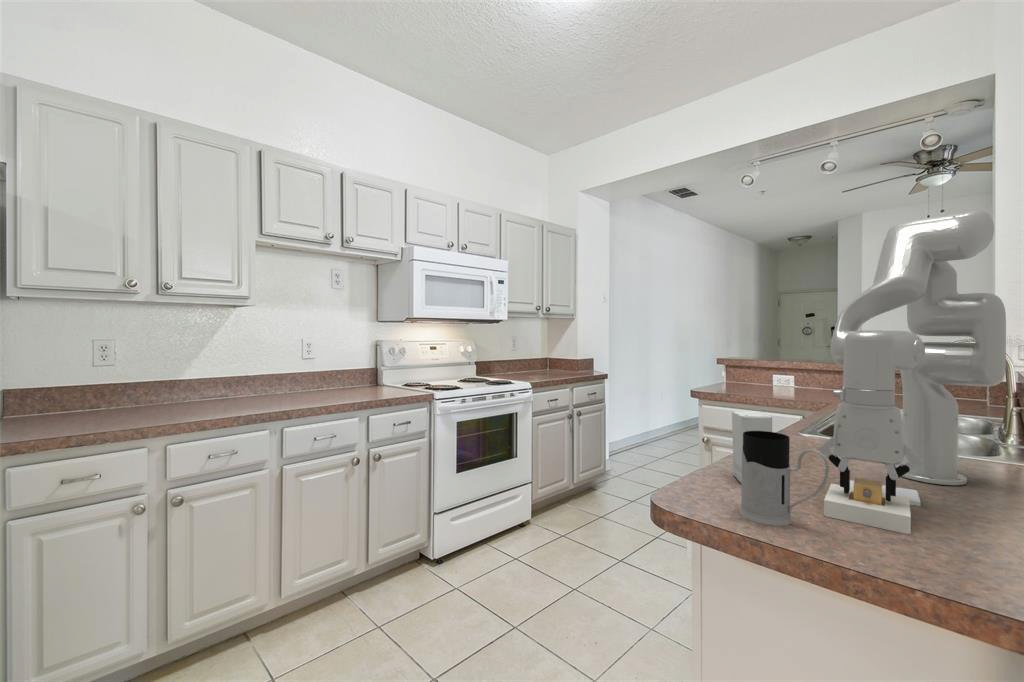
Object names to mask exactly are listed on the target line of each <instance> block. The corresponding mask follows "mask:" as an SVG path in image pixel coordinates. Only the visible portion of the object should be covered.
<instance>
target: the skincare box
mask: <svg viewBox="0 0 1024 682" xmlns="http://www.w3.org/2000/svg"><path fill="white" fill-rule="evenodd" d="M731 422H732V423H731V424H732V425H731V426H732V427H731V428H732V430H731V431H732V459H733V461H732V466H733V470H732V471H733V472H732V473H733V475H734V476H735V477H736V478H737V481H738V482H739V483H740V484H741V485H742V446H743V433H744V432H746V431H767V432H773V416H771V415H768V414H765V413H764V412H761V411H754V410H753V411H735V410H734V411H731ZM734 476H733V477H734ZM735 477H734V478H735Z"/></svg>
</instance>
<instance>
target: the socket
mask: <svg viewBox="0 0 1024 682" xmlns="http://www.w3.org/2000/svg"><path fill="white" fill-rule="evenodd" d="M823 516H824V517H827V518H832V519H836V520H841V521H845V522H850V523H855V524H859V525H864V526H868V527H874V528H877V529H883V530H887V531H892V532H897V533H902V534H906V535H911V526H912V525H911V524H912V523H911V518H912V517H911V505H910V502H909V497H906V496H900V495H896V497H895V496H891V502H890V501H887V500H886V493H883V492H882V505H877V504H872V503H866V502H861V501H856V500H854V487H850V490H849V493H847V494H846V493H844V487H840V484H838V483H837V484H836V483H832V482H831V483H830V486H829V488H828V490H827V492H826V495H825V497H824V499H823Z"/></svg>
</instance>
